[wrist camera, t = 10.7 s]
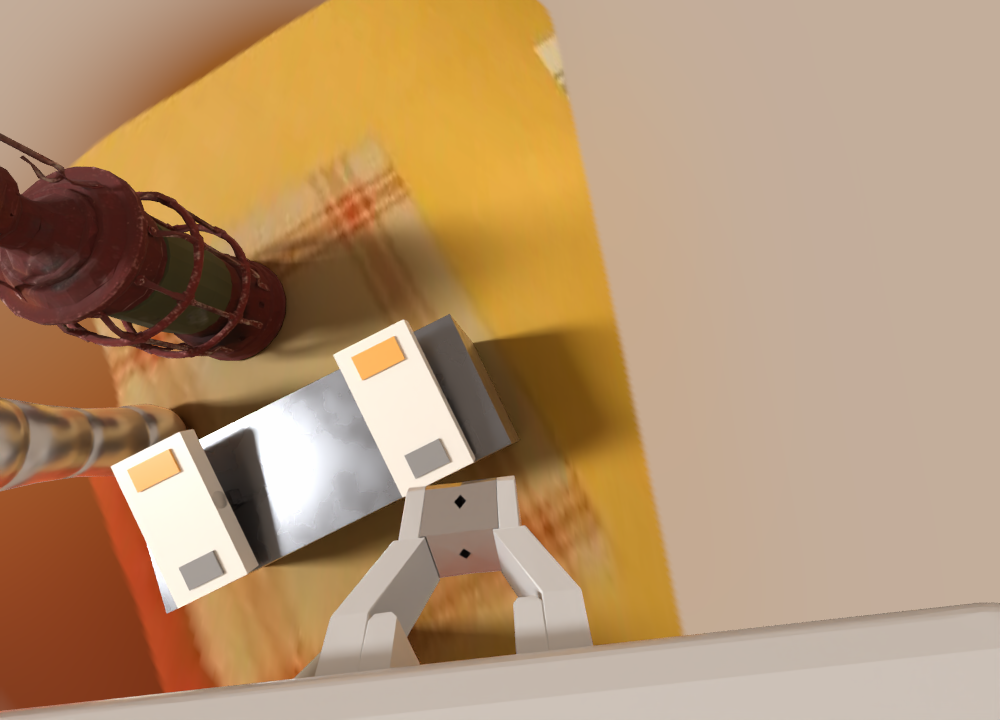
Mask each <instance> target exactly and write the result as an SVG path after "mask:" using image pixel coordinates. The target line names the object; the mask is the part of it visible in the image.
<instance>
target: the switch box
mask: <svg viewBox="0 0 1000 720" xmlns="http://www.w3.org/2000/svg"><path fill="white" fill-rule="evenodd" d="M414 334H415V336H416V338H417V340H418V343H419V345H420V347H421V349H422V351H423V353H424V355H425V357H426V359H427V361H428V363H429V365H430V367H431V369H432V371H433V373H434V375H435V377H436V379H437V381H438V383H439V385H440V387H441V389H442V391H443V393H444V395H445V397H446V399H447V401H448V403H449V405H450V407H451V410H452V412H453V414H454V416H455V418H456V420H457V422H458V424H459V426H460V428H461V430H462V432H463V434H464V436H465V438H466V440H467V442H468V444H469V446H470V448H471V450H472V452H473V454H474V456H475V461H474V462H473V463H475V462H477V461H479V460H481V459H483V458H485V457H487V456H489V455H491V454H493V453H495V452H497V451H499V450H501V449H503V448H505V447H507V446H509V445H511V444H513V443H516V442H518V441H520V439H519V437H518V435H517V433H516V431H515V429H514V427H513V425H512V423H511V421H510V419H509V416H508V414H507V412H506V410H505V408H504V406H503V404H502V402H501V400H500V398H499V396H498V394H497V392H496V390H495V388H494V385H493V383H492V381H491V379H490V377H489V375H488V373H487V371H486V369H485V367H484V365H483V363H482V361H481V359H480V357H479V355H478V352H477V350H476V348H475V346H474V344H473V342H472V341H471V340H470V339H469V337H468V336H467V335H466V334H465V332H464V331H463V330H462V329H461V328H460V326H459V325H458V324H457V323H456V321H455V320H454V319H453V318H452V316H451V315H450V314H449V315H447V316H445V317H443V318H441V319H439V320H437V321H435V322H433V323H431V324H429V325H427V326H425V327H423V328H421V329H419V330H417V331H415V332H414ZM199 441H200V443H201V446H202V448H203V450H204V452H205V454H206V456H207V458H208V460H209V462H210V464H211V466H212V468H213V471H214V473H215V475H216V477H217V479H218V481H219V483H220V485H221V487H222V489H223V491H224V493H225V496H226V498H227V500H228V502H229V504H230V506H231V508H232V510H233V512H234V514H235V516H236V518H237V521H238V523H239V525H240V527H241V529H242V531H243V533H244V535H245V537H246V539H247V541H248V543H249V546H250V548H251V550H252V552H253V554H254V556H255V558H256V560H257V562H258V564H259V565H258V566H257V567H256V568H255V569H253V570H252V571H251V572H249V573H248V574H250V573H252V572H254V571H256V570H258V569H260V568H262V567H265V566H267V565H269V564H271V563H273V562H275V561H277V560H279V559H281V558H283V557H285V556H287V555H289V554H291V553H293V552H295V551H297V550H299V549H301V548H303V547H305V546H307V545H309V544H311V543H313V542H315V541H317V540H319V539H321V538H323V537H325V536H327V535H329V534H331V533H333V532H335V531H337V530H339V529H341V528H343V527H345V526H347V525H350V524H352V523H354V522H356V521H358V520H360V519H362V518H364V517H366V516H368V515H370V514H372V513H374V512H376V511H378V510H380V509H382V508H384V507H386V506H388V505H390V504H392V503H394V502H396V501H398V500H400V499H402V496H401V493H400V491H399V489H398V487H397V485H396V483H395V481H394V479H393V477H392V475H391V473H390V471H389V469H388V467H387V465H386V463H385V461H384V459H383V456H382V454H381V452H380V450H379V448H378V446H377V444H376V442H375V440H374V438H373V436H372V434H371V432H370V430H369V428H368V426H367V424H366V422H365V419H364V417H363V415H362V413H361V411H360V409H359V407H358V405H357V403H356V401H355V399H354V397H353V395H352V393H351V391H350V389H349V387H348V384H347V382H346V380H345V378H344V376H343V374H342V372H341V370H340V369H339V370H337V371H335V372H333V373H331V374H329V375H327V376H325V377H323V378H321V379H319V380H317V381H315V382H313V383H311V384H309V385H307V386H305V387H303V388H301V389H299V390H297V391H295V392H293V393H291V394H289V395H287V396H285V397H283V398H281V399H279V400H277V401H275V402H273V403H271V404H269V405H267V406H265V407H263V408H261V409H259V410H257V411H255V412H253V413H251V414H249V415H247V416H245V417H243V418H241V419H239V420H237V421H235V422H233V423H231V424H229V425H227V426H225V427H223V428H221V429H219V430H217V431H215V432H213V433H211V434H209V435H207V436H205V437H204V438H202V439H200V440H199ZM473 463H471V464H473ZM471 464H469V465H471ZM469 465H467V466H469ZM467 466H465V467H467ZM465 467H463V468H465ZM463 468H461V469H463ZM461 469H459V470H461ZM459 470H457V471H459ZM457 471H455V472H457ZM455 472H453V473H455ZM453 473H451V474H453ZM451 474H449V475H451ZM449 475H447V476H449ZM447 476H445V477H447ZM445 477H443V478H445ZM443 478H441V479H443ZM441 479H439V480H441ZM439 480H437V481H439ZM437 481H435V482H437ZM435 482H433V483H435ZM433 483H431V484H433ZM429 485H430V484H429ZM427 486H428V485H427ZM405 497H406V496H405ZM403 498H404V497H403ZM147 546H148V544H147ZM148 549H149V547H148ZM149 553H150V556H151V560H152V563H153V567H154V571H155V574H156V578H157V581H158V585H159V588H160V592H161V595H162V599H163V602H164V606H165V609H166V613H169V612H171V611H173V610H175V609H178V608H177V606H176V603H175V601H174V599H173V597H172V595H171V593H170V591H169V589H168V587H167V585H166V582H165V580H164V578H163V576H162V574H161V572H160V570H159V568H158V566H157V563H156V561H155V559H154V557H153V555H152V553H151V551H150V549H149ZM248 574H247V575H248ZM245 576H246V575H245ZM243 577H244V576H243ZM241 578H242V577H241ZM239 579H240V578H239ZM236 580H238V579H236ZM236 580H234V581H236ZM232 582H233V581H232ZM230 583H231V582H230ZM228 584H229V583H228ZM226 585H227V584H226ZM224 586H225V585H224ZM222 587H223V586H222ZM220 588H221V587H220ZM218 589H219V588H218ZM216 590H217V589H216ZM214 591H215V590H214ZM212 592H213V591H212ZM210 593H211V592H210ZM208 594H209V593H208ZM206 595H207V594H206Z"/></svg>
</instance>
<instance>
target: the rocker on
mask: <svg viewBox="0 0 1000 720" xmlns="http://www.w3.org/2000/svg"><path fill="white" fill-rule="evenodd" d="M333 356H334V358H335V360H336V362H337V364H338V366H339V368H340V370H341V372H342V374H343V376H344V378H345V380H346V382H347V384H348V387H349V389H350V391H351V393H352V395H353V397H354V399H355V401H356V403H357V405H358V407H359V409H360V411H361V413H362V415H363V417H364V419H365V422H366V424H367V426H368V428H369V430H370V432H371V434H372V436H373V438H374V440H375V442H376V444H377V446H378V448H379V450H380V452H381V454H382V456H383V459H384V461H385V463H386V465H387V467H388V469H389V471H390V473H391V475H392V477H393V479H394V481H395V483H396V485H397V487H398V489H399V491H400V493H401V496H402V498H403V497H405V496H406V493H407V491H408V489H409V488H412V487H421V486H427V485H429V484H431V483H433V482H435V481H437V480H439V479H441V478H443V477H445V476H447V475H449V474H451V473H453V472H455V471H457V470H459V469H461V468H463V467H465V466H467V465H469V464H471V463H473V462H474V461H475V456H474V454H473V452H472V450H471V448H470V446H469V444H468V442H467V440H466V438H465V436H464V434H463V432H462V430H461V428H460V426H459V424H458V422H457V420H456V418H455V416H454V414H453V412H452V410H451V407H450V405H449V403H448V401H447V399H446V397H445V395H444V393H443V391H442V389H441V387H440V385H439V383H438V381H437V379H436V377H435V375H434V373H433V371H432V369H431V367H430V365H429V363H428V361H427V359H426V357H425V355H424V353H423V351H422V349H421V347H420V345H419V343H418V340H417V338H416V336H415V334H414V332H413V330H412V328H411V326H410V324H409V322H408V321H406V320H404V319H403V320H401V321H399V322H397V323H395V324H393V325H391V326H389V327H387V328H385V329H383V330H381V331H379V332H377V333H375V334H373V335H371V336H369V337H367V338H365V339H363V340H361V341H359V342H357V343H355V344H353V345H351V346H349V347H347V348H345V349H343V350H341V351H339V352H337V353H335V354H333Z"/></svg>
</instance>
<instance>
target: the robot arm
mask: <svg viewBox="0 0 1000 720" xmlns="http://www.w3.org/2000/svg"><path fill="white" fill-rule="evenodd" d="M492 571H501V572H502V574H503V575H504V577H505V578H506V580H507V581H508V583H509V584H510V586H511V587H512V589H513V590H514V592H515V593H516V595H517V596H518V598H517V599H516V601H515V602H514V603H513V607H514V624H515V640H516V654H513V655H504V656H495V657H486V658H477V659H468V660H459V661H450V662H441V663H432V664H423V665H420V663H419V661H418V659H417V657H416V655H415V653H414V651H413V649H412V647H411V645H410V643H409V641H408V639H407V636H408V634H409V633H410V631H411V629H412V627H413V626H414V624H415V622H416V620H417V619H418V617H419V615H420V614H421V612H422V610H423V608H424V607H425V605H426V603H427V601H428V600H429V598H430V596H431V594H432V593H433V591H434V589H435V587H436V586H437V584H438V582H439V580H440V579H439V578H442V577H449V576H456V575H463V574H470V573H481V572H492ZM0 720H1000V603H973V604H964V605H955V606H947V607H938V608H930V609H920V610H911V611H902V612H893V613H883V614H875V615H865V616H856V617H847V618H838V619H830V620H821V621H812V622H802V623H794V624H786V625H775V626H766V627H758V628H748V629H740V630H730V631H722V632H713V633H704V634H695V635H686V636H677V637H668V638H659V639H650V640H641V641H632V642H623V643H614V644H605V645H595V646H593V643H592V638H591V633H590V629H589V624H588V619H587V614H586V610H585V605H584V600H583V595H582V591H581V588H580V587H579V586H578V585H577V584H576V583H575V582H574V580H573V579H572V578H571V577H570V576H569V575H568V574H567V572H566V571H565V570H564V569H563V568H562V567H561V566H560V565H559V563H558V562H557V561H556V560H555V559H554V558H553V557H552V555H551V554H550V553H549V552H548V551H547V550H546V549H545V547H544V546H543V545H542V544H541V543H540V542H539V541H538V539H537V538H536V537H535V536H534V535H533V534H532V533H531V532H530V530H529V529H528V528H527V527H526V526H522V525H521V517H520V510H519V503H518V495H517V488H516V481H515V476H514V475H513V476H505V477H497V478H496V477H495V478H488V479H480V480H472V481H465V482H462V483H451V484H440V485H430V486H421V487H412V488H409V489H408V491H407V493H406V499H405V505H404V511H403V516H402V522H401V528H400V534H399V540H396V541H393V542H392V543H391V544H390V545H389V547H388V548H387V549H386V550H385V552H384V553H383V554H382V555H381V556H380V558H379V559H378V560H377V561H376V562H375V564H374V565H373V566H372V567H371V569H370V570H369V571H368V572H367V573H366V575H365V576H364V577H363V578H362V580H361V581H360V582H359V583H358V584H357V586H356V587H355V588H354V589H353V590H352V592H351V593H350V594H349V595H348V597H347V598H346V599H345V600H344V601H343V603H342V604H341V605H340V606H339V608H338V609H337V610H336V611H335V612H334V614H333V615H332V616H331V618H330V622H329V625H328V629H327V633H326V636H325V640H324V644H323V647H322V651H321V654H320V658H319V662H318V665H317V669H316V673H315V676H314V677H306V678H297V679H288V680H279V681H270V682H261V683H252V684H243V685H234V686H225V687H216V688H207V689H198V690H189V691H180V692H171V693H162V694H153V695H144V696H135V697H126V698H117V699H108V700H99V701H90V702H80V703H71V704H63V705H53V706H44V707H35V708H26V709H17V710H7V711H0Z"/></svg>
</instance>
